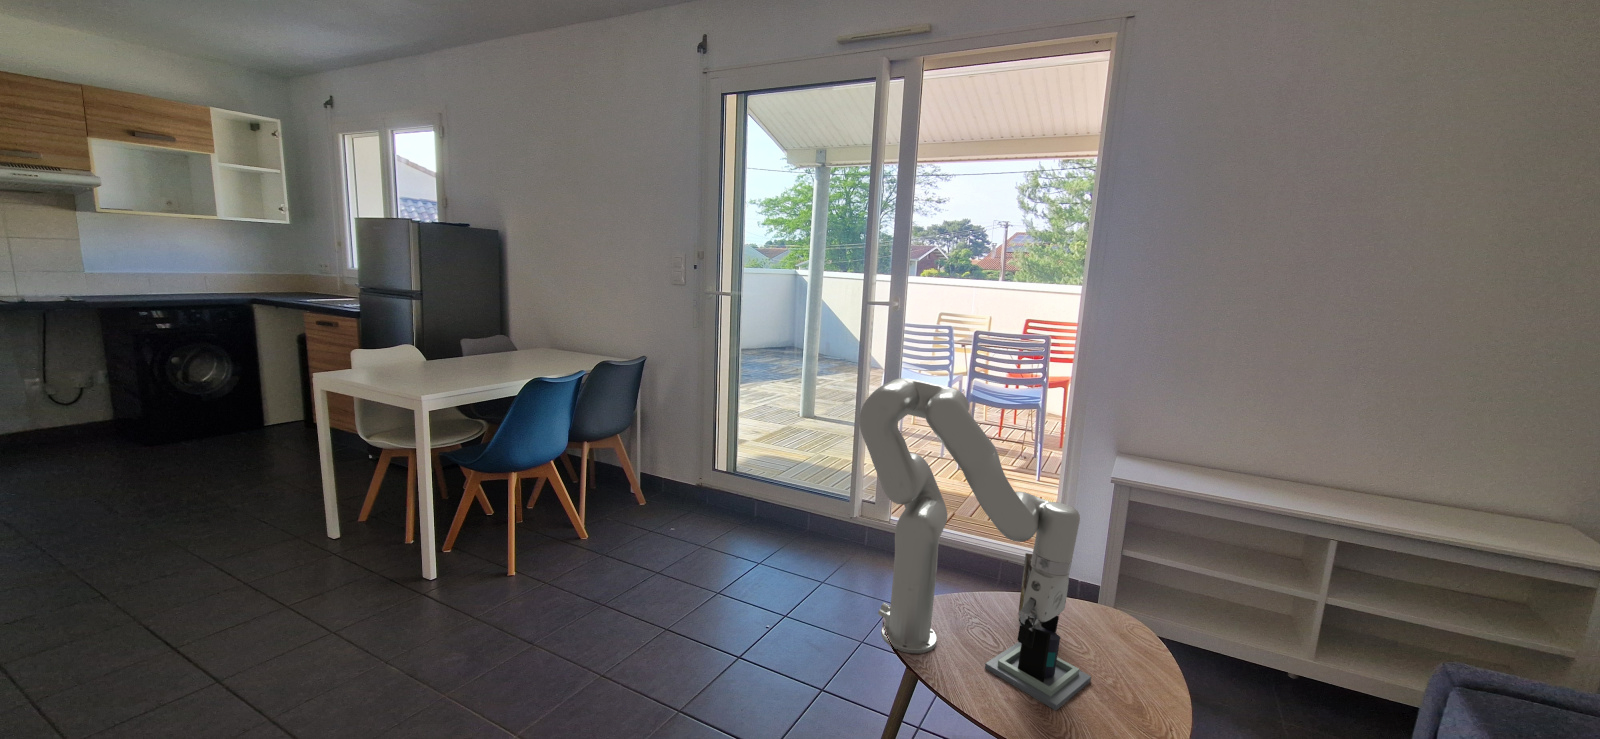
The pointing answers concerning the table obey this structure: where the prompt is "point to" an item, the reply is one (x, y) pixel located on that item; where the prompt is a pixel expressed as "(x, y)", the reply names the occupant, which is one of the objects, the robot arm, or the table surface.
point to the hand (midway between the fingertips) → (1036, 636)
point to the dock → (1047, 692)
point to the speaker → (1040, 655)
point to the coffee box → (1025, 579)
